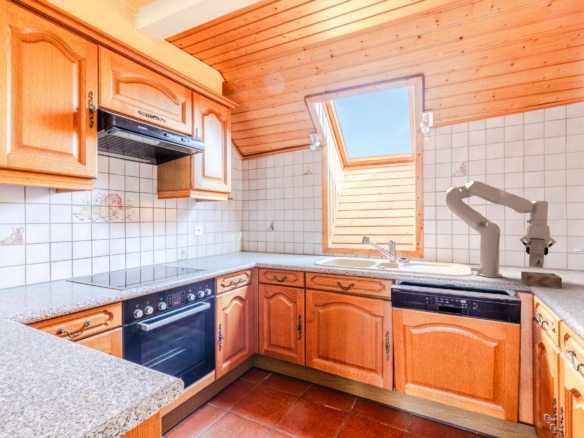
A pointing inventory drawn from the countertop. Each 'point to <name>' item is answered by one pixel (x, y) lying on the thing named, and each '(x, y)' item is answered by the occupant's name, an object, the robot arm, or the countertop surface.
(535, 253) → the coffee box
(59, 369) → the countertop surface
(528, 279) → the block
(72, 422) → the countertop surface
